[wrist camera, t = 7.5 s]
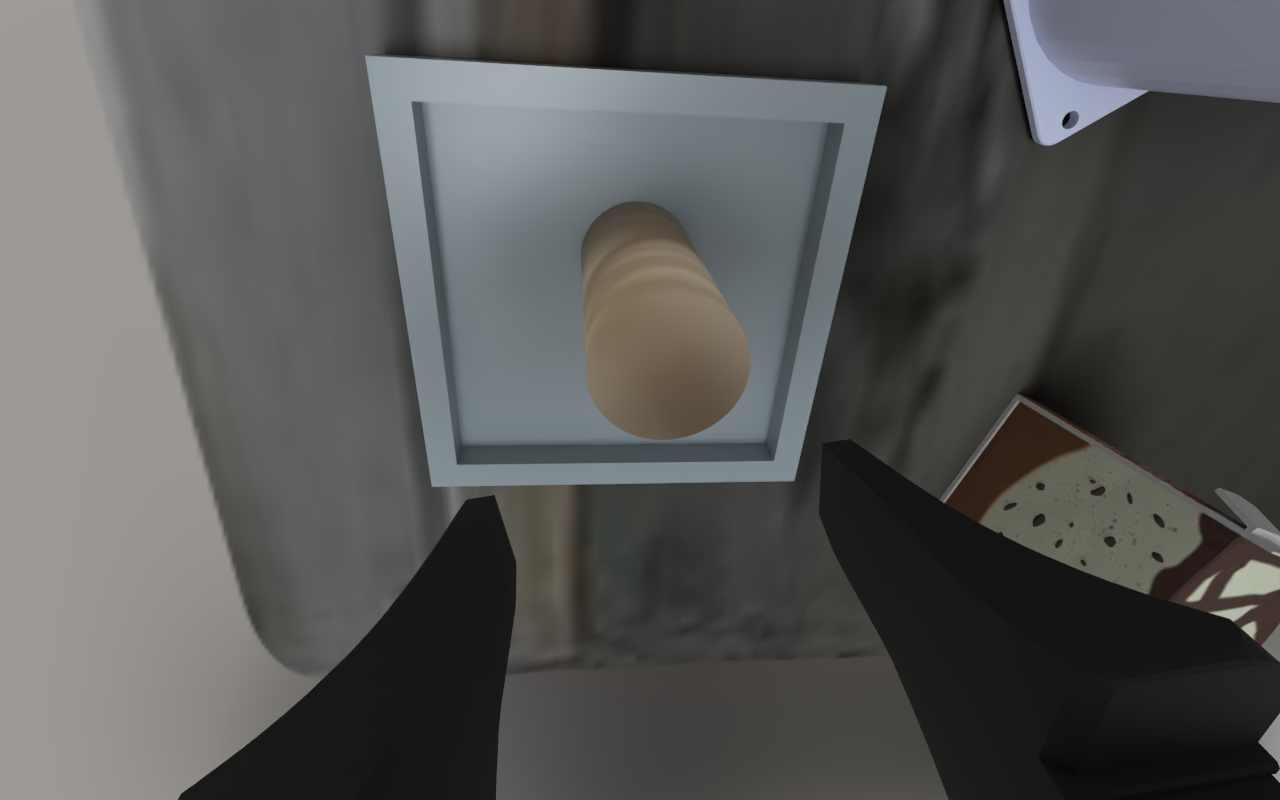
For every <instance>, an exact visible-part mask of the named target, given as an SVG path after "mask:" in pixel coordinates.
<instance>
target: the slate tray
mask: <svg viewBox="0 0 1280 800" xmlns="http://www.w3.org/2000/svg"><path fill="white" fill-rule="evenodd" d="M365 58H366V64H367V71H368V77H369V84H370V90H371V97H372V103H373V109H374V116H375V122H376V129H377V135H378V142H379V148H380V155H381V161H382V167H383V174H384V180H385V187H386V193H387V200H388V206H389V213H390V219H391V226H392V232H393V238H394V245H395V251H396V258H397V264H398V271H399V277H400V284H401V290H402V296H403V303H404V309H405V316H406V322H407V329H408V335H409V342H410V348H411V354H412V361H413V367H414V374H415V380H416V387H417V393H418V400H419V406H420V413H421V419H422V425H423V432H424V438H425V445H426V451H427V458H428V464H429V471H430V477H431V483H432V487H444V486H507V485H571V484H634V483H698V482H761V481H794V480H795V475H796V471H797V467H798V463H799V458H800V454H801V450H802V446H803V441H804V437H805V433H806V429H807V424H808V420H809V416H810V412H811V407H812V403H813V399H814V395H815V390H816V386H817V382H818V378H819V373H820V369H821V365H822V361H823V356H824V352H825V348H826V344H827V339H828V335H829V331H830V327H831V322H832V318H833V314H834V310H835V305H836V301H837V297H838V293H839V288H840V284H841V280H842V276H843V271H844V267H845V263H846V259H847V255H848V250H849V246H850V242H851V238H852V233H853V229H854V225H855V221H856V216H857V212H858V208H859V204H860V199H861V195H862V191H863V187H864V182H865V178H866V174H867V170H868V165H869V161H870V157H871V153H872V148H873V144H874V140H875V136H876V131H877V127H878V123H879V119H880V114H881V110H882V106H883V102H884V97H885V93H886V89H887V86H883V85H876V84H870V83H863V82H850V81H833V80H816V79H799V78H782V77H765V76H748V75H732V74H715V73H698V72H681V71H664V70H647V69H630V68H613V67H596V66H579V65H562V64H546V63H529V62H512V61H495V60H478V59H461V58H444V57H427V56H410V55H393V54H378V55H366V56H365ZM633 201H641V202H648V203H652V204H655V205H658V206H660V207H662V208H664V209H665V210H667V211H668V212H670V213H671V214H672V215H673V216H674V217H675V218H676V219H677V220H678V221H679V223H680V224H681V226H682V227H683V229H684V231H685V232H686V234H687V236H688V238H689V239H690V241H691V243H692V244H693V246H694V248H695V250H696V251H697V253H698V255H699V256H700V258H701V260H702V262H703V263H704V265H705V267H706V268H707V270H708V272H709V273H710V275H711V277H712V279H713V280H714V282H715V284H716V285H717V287H718V289H719V291H720V292H721V294H722V296H723V297H724V299H725V301H726V303H727V304H728V306H729V308H730V309H731V311H732V313H733V315H734V316H735V318H736V320H737V321H738V323H739V325H740V326H741V328H742V330H743V332H744V334H745V336H746V338H747V341H748V345H749V349H750V357H751V366H750V373H749V378H748V382H747V384H746V387H745V389H744V391H743V393H742V395H741V397H740V399H739V400H738V402H737V403H736V405H735V406H734V407H733V408H732V409H731V410H730V412H729V413H728V414H726V415H725V416H724V417H723V418H722V419H721V420H720V421H718V422H717V423H715V424H714V425H712V426H711V427H709V428H707V429H705V430H703V431H701V432H699V433H696V434H694V435H691V436H687V437H683V438H678V439H671V440H653V439H646V438H642V437H638V436H635V435H632V434H629V433H627V432H625V431H623V430H621V429H619V428H618V427H616V426H615V425H613V424H612V423H611V422H610V421H608V420H607V419H606V418H605V417H604V416H603V415H602V413H601V412H600V411H599V410H598V408H597V407H596V405H595V403H594V402H593V399H592V397H591V395H590V392H589V388H588V384H587V375H586V354H585V332H584V310H583V289H582V267H581V250H582V244H583V241H584V237H585V235H586V233H587V231H588V229H589V227H590V226H591V224H592V223H593V222H594V221H595V220H596V218H597V217H599V216H600V215H601V214H602V213H603V212H605V211H606V210H608V209H609V208H611V207H613V206H615V205H618V204H621V203H626V202H633Z"/></svg>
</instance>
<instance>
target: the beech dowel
mask: <svg viewBox="0 0 1280 800" xmlns="http://www.w3.org/2000/svg"><path fill="white" fill-rule="evenodd" d="M581 267H582V289H583V310H584V332H585V354H586V375H587V384H588V388H589V392H590V395H591V397H592V399H593V402H594V403H595V405H596V407H597V408H598V410H599V411H600V412H601V413H602V415H603V416H604V417H605V418H606V419H607V420H608V421H610V422H611V423H612V424H613V425H615V426H616V427H618V428H619V429H621V430H623V431H625V432H627V433H629V434H632V435H635V436H638V437H642V438H646V439H653V440H671V439H678V438H683V437H687V436H691V435H694V434H696V433H699V432H701V431H703V430H705V429H707V428H709V427H711V426H712V425H714V424H715V423H717V422H718V421H720V420H721V419H722V418H723V417H724V416H725V415H726V414H728V413H729V412H730V410H731V409H732V408H733V407H734V406H735V405H736V403H737V402H738V400H739V399H740V397H741V395H742V393H743V391H744V389H745V387H746V384H747V382H748V378H749V373H750V366H751V357H750V349H749V345H748V341H747V338H746V336H745V334H744V332H743V330H742V328H741V326H740V325H739V323H738V321H737V320H736V318H735V316H734V315H733V313H732V311H731V309H730V308H729V306H728V304H727V303H726V301H725V299H724V297H723V296H722V294H721V292H720V291H719V289H718V287H717V285H716V284H715V282H714V280H713V279H712V277H711V275H710V273H709V272H708V270H707V268H706V267H705V265H704V263H703V262H702V260H701V258H700V256H699V255H698V253H697V251H696V250H695V248H694V246H693V244H692V243H691V241H690V239H689V238H688V236H687V234H686V232H685V231H684V229H683V227H682V226H681V224H680V223H679V221H678V220H677V219H676V218H675V217H674V216H673V215H672V214H671V213H670V212H668V211H667V210H665V209H664V208H662V207H660V206H658V205H655V204H652V203H648V202H641V201H633V202H626V203H621V204H618V205H615V206H613V207H611V208H609V209H608V210H606V211H605V212H603V213H602V214H601V215H600V216H599V217H597V218H596V220H595V221H594V222H593V223H592V224H591V226H590V227H589V229H588V231H587V233H586V235H585V237H584V241H583V244H582V250H581Z"/></svg>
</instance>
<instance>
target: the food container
mask: <svg viewBox="0 0 1280 800" xmlns="http://www.w3.org/2000/svg"><path fill="white" fill-rule="evenodd" d="M1215 492H1216V493H1217V494H1218V495H1219V496H1220V498H1221V499H1222V500H1223V501H1224V502H1225V503H1226V504H1227V505H1228V506H1229V507H1230V508H1231V509H1232V510H1233V511H1234V513H1235V514H1236V515H1237V516H1238V517H1239V518H1240V519H1241V520H1242V521H1243V522H1244V523H1245V524H1246V525H1247V526H1248V527H1246V526H1244V525H1242V524H1241V523H1239V522H1237V521H1236V520H1234V519H1232V518H1231V517H1229V516H1227V515H1226V514H1224V513H1222V512H1221V511H1219V510H1217V509H1216V508H1214V507H1212V506H1211V505H1209V504H1207V503H1206V502H1204V501H1202V500H1201V499H1199V498H1197V497H1196V496H1194V495H1192V494H1191V493H1189V492H1187V491H1186V490H1184V489H1182V488H1181V487H1179V486H1177V485H1176V484H1174V483H1172V482H1171V481H1169V480H1167V479H1166V478H1164V477H1162V476H1161V475H1159V474H1157V473H1155V472H1154V471H1152V470H1150V469H1149V468H1147V467H1145V466H1144V465H1142V464H1140V463H1139V462H1137V461H1135V460H1134V459H1132V458H1130V457H1129V456H1127V455H1125V454H1124V453H1122V452H1120V451H1119V450H1117V449H1115V448H1114V447H1112V446H1110V445H1109V444H1107V443H1105V442H1104V441H1102V440H1100V439H1099V438H1097V437H1095V436H1094V435H1092V434H1090V433H1089V432H1087V431H1085V430H1084V429H1082V428H1080V427H1079V426H1077V425H1075V424H1074V423H1072V422H1070V421H1069V420H1067V419H1065V418H1064V417H1062V416H1060V415H1058V414H1057V413H1055V412H1053V411H1052V410H1050V409H1048V408H1047V407H1045V406H1043V405H1042V404H1040V403H1038V402H1037V401H1035V400H1033V399H1031V398H1029V397H1026V396H1024V395H1021V394H1018V393H1017V394H1016V395H1015V397H1014V398H1013V399H1012V401H1011V402H1010V404H1009V405H1008V406H1007V408H1006V409H1005V410H1004V412H1003V413H1002V415H1001V416H1000V417H999V419H998V420H997V421H996V423H995V424H994V426H993V427H992V428H991V430H990V431H989V432H988V434H987V435H986V436H985V438H984V439H983V441H982V442H981V443H980V445H979V446H978V447H977V449H976V450H975V452H974V453H973V454H972V456H971V457H970V458H969V460H968V461H967V463H966V464H965V465H964V467H963V468H962V469H961V471H960V472H959V474H958V475H957V476H956V478H955V479H954V480H953V482H952V483H951V484H950V486H949V487H948V489H947V490H946V491H945V493H944V494H943V495H942V497H941V498H940V501H942V502H944V503H945V504H947V505H949V506H950V507H952V508H954V509H955V510H957V511H959V512H961V513H962V514H964V515H966V516H967V517H969V518H971V519H973V520H974V521H976V522H978V523H980V524H982V525H984V526H985V527H987V528H989V529H991V530H993V531H995V532H997V533H999V534H1001V535H1003V536H1005V537H1007V538H1009V539H1011V540H1013V541H1015V542H1017V543H1019V544H1021V545H1023V546H1025V547H1027V548H1030V549H1032V550H1034V551H1036V552H1038V553H1041V554H1043V555H1045V556H1048V557H1050V558H1052V559H1055V560H1057V561H1060V562H1062V563H1064V564H1067V565H1069V566H1071V567H1074V568H1076V569H1079V570H1081V571H1084V572H1086V573H1089V574H1092V575H1094V576H1097V577H1100V578H1102V579H1105V580H1107V581H1110V582H1113V583H1116V584H1119V585H1122V586H1125V587H1128V588H1130V589H1133V590H1136V591H1139V592H1142V593H1145V594H1148V595H1151V596H1154V597H1157V598H1160V599H1164V600H1167V601H1171V602H1174V603H1177V604H1181V605H1184V606H1188V607H1191V608H1194V609H1198V610H1201V611H1205V612H1208V613H1212V614H1215V615H1218V616H1222V617H1225V618H1229V619H1231V620H1232V621H1233V622H1234V623H1235V624H1237V625H1238V626H1239V627H1240V628H1241V629H1243V630H1244V631H1245V632H1246V633H1247V634H1248V635H1249V636H1250V637H1252V638H1253V639H1254V640H1255V641H1256V642H1257V643H1258V644H1260V645H1261V646H1262V647H1263V648H1264V649H1265V650H1266V651H1268V652H1269V653H1270V654H1271V655H1272V656H1273V657H1274V658H1276V659H1277V660H1278V661H1279V662H1280V532H1279V531H1278V530H1277V529H1276V528H1275V527H1274V526H1273V525H1272V524H1271V522H1270V521H1269V520H1268V519H1267V518H1266V517H1265V516H1264V515H1263V514H1262V513H1261V512H1260V511H1259V510H1258V509H1257V508H1256V507H1255V506H1253V505H1252V504H1250V503H1249V502H1248V501H1246V500H1245V499H1243V498H1242V497H1240V496H1239V495H1237V494H1234V493H1232V492H1229V491H1227V490H1224V489H1221V488H1218V489H1216V490H1215Z"/></svg>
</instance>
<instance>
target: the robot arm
mask: <svg viewBox="0 0 1280 800" xmlns="http://www.w3.org/2000/svg"><path fill="white" fill-rule="evenodd" d="M1003 1H1004V6H1005V11H1006V15H1007V20H1008V25H1009V29H1010V34H1011V39H1012V44H1013V48H1014V53H1015V58H1016V63H1017V67H1018V72H1019V77H1020V82H1021V86H1022V91H1023V96H1024V100H1025V105H1026V110H1027V115H1028V119H1029V124H1030V129H1031V134H1032V137H1033V139H1034V141H1035V142H1036V143H1038V144H1041V145H1047V146H1051V145H1054V144H1056V143H1058V142H1060V141H1062V140H1063V139H1065V138H1067V137H1069V136H1070V135H1072V134H1074V133H1076V132H1077V131H1079V130H1081V129H1083V128H1084V127H1086V126H1088V125H1090V124H1091V123H1093V122H1095V121H1097V120H1098V119H1100V118H1102V117H1104V116H1105V115H1107V114H1109V113H1111V112H1113V111H1114V110H1116V109H1118V108H1120V107H1121V106H1123V105H1125V104H1127V103H1128V102H1130V101H1132V100H1134V99H1135V98H1137V97H1139V96H1141V95H1142V94H1144V93H1146V92H1148V91H1158V92H1169V93H1180V94H1190V95H1201V96H1212V97H1223V98H1234V99H1245V100H1255V101H1266V102H1277V103H1280V0H1003ZM1067 113H1070V119H1069V121H1068V122H1067V124H1065V125H1064V126H1062V120H1063V118H1064V117H1065V115H1066V114H1067ZM819 515H820V518H821V520H822V523H823V526H824V528H825V531H826V534H827V536H828V539H829V541H830V544H831V546H832V549H833V551H834V554H835V556H836V557H837V559H838V561H839V563H840V565H841V567H842V569H843V571H844V572H845V574H846V576H847V578H848V580H849V582H850V583H851V585H852V587H853V589H854V591H855V592H856V594H857V596H858V598H859V600H860V601H861V603H862V605H863V607H864V609H865V610H866V612H867V614H868V616H869V618H870V619H871V621H872V623H873V625H874V627H875V628H876V630H877V632H878V634H879V636H880V638H881V639H882V641H883V643H884V645H885V647H886V649H887V651H888V653H889V655H890V657H891V659H892V661H893V663H894V665H895V668H896V670H897V672H898V674H899V677H900V679H901V682H902V684H903V686H904V689H905V691H906V693H907V696H908V698H909V700H910V703H911V705H912V708H913V710H914V712H915V715H916V717H917V720H918V722H919V725H920V727H921V730H922V732H923V735H924V737H925V740H926V742H927V744H928V747H929V749H930V752H931V754H932V757H933V759H934V762H935V765H936V767H937V770H938V773H939V775H940V778H941V781H942V783H943V786H944V788H945V791H946V794H947V796H948V799H949V800H1280V783H1279V782H1278V781H1277V780H1276V779H1275V777H1274V776H1272V774H1276V773H1277V772H1278V771H1279V769H1280V768H1279V765H1278V762H1277V761H1276V760H1275V759H1274V758H1273V757H1272V756H1271V755H1270V754H1269V753H1268V752H1267V751H1266V750H1265V749H1264V748H1263V747H1262V746H1261V745H1260V744H1259V743H1258V741H1259V740H1260V739H1261V737H1262V736H1263V735H1264V733H1265V732H1266V731H1267V729H1268V728H1269V727H1270V725H1271V724H1272V723H1273V721H1274V720H1275V719H1276V717H1277V716H1278V715H1279V713H1280V662H1279V661H1278V660H1277V659H1276V658H1274V657H1273V656H1272V655H1271V654H1270V653H1269V652H1268V651H1266V650H1265V649H1264V648H1263V647H1262V646H1261V645H1260V644H1258V643H1257V642H1256V641H1255V640H1254V639H1253V638H1252V637H1250V636H1249V635H1248V634H1247V633H1246V632H1245V631H1244V630H1243V629H1241V628H1240V627H1239V626H1238V625H1237V624H1235V623H1234V622H1233V621H1232V620H1231V619H1229V618H1225V617H1222V616H1218V615H1215V614H1212V613H1208V612H1205V611H1201V610H1198V609H1194V608H1191V607H1188V606H1184V605H1181V604H1177V603H1174V602H1171V601H1167V600H1164V599H1160V598H1157V597H1154V596H1151V595H1148V594H1145V593H1142V592H1139V591H1136V590H1133V589H1130V588H1128V587H1125V586H1122V585H1119V584H1116V583H1113V582H1110V581H1107V580H1105V579H1102V578H1100V577H1097V576H1094V575H1092V574H1089V573H1086V572H1084V571H1081V570H1079V569H1076V568H1074V567H1071V566H1069V565H1067V564H1064V563H1062V562H1060V561H1057V560H1055V559H1052V558H1050V557H1048V556H1045V555H1043V554H1041V553H1038V552H1036V551H1034V550H1032V549H1030V548H1027V547H1025V546H1023V545H1021V544H1019V543H1017V542H1015V541H1013V540H1011V539H1009V538H1007V537H1005V536H1003V535H1001V534H999V533H997V532H995V531H993V530H991V529H989V528H987V527H985V526H984V525H982V524H980V523H978V522H976V521H974V520H973V519H971V518H969V517H967V516H966V515H964V514H962V513H961V512H959V511H957V510H955V509H954V508H952V507H950V506H949V505H947V504H945V503H944V502H942V501H940V500H939V499H937V498H936V497H934V496H932V495H931V494H929V493H928V492H926V491H925V490H923V489H921V488H920V487H918V486H917V485H915V484H914V483H912V482H911V481H909V480H908V479H906V478H905V477H903V476H902V475H901V474H899V473H898V472H896V471H895V470H893V469H892V468H890V467H889V466H888V465H886V464H885V463H883V462H882V461H880V460H879V459H878V458H876V457H875V456H873V455H872V454H871V453H869V452H868V451H866V450H865V449H863V448H862V447H861V446H859V445H858V444H856V443H855V442H853V441H852V440H850V439H848V440H841V441H835V442H829V443H822V460H821V482H820V505H819ZM515 605H516V560H515V557H514V554H513V551H512V548H511V545H510V542H509V539H508V535H507V532H506V529H505V526H504V523H503V520H502V517H501V514H500V511H499V508H498V505H497V501H496V498H495V495H493V496H487V497H481V498H474V499H468V500H466V501H465V502H464V504H463V505H462V507H461V508H460V510H459V511H458V513H457V514H456V516H455V517H454V519H453V520H452V522H451V523H450V525H449V526H448V528H447V529H446V531H445V532H444V534H443V535H442V537H441V538H440V540H439V541H438V543H437V544H436V546H435V547H434V549H433V550H432V552H431V553H430V554H429V556H428V557H427V559H426V560H425V562H424V563H423V564H422V566H421V567H420V569H419V570H418V572H417V573H416V574H415V576H414V577H413V578H412V580H411V581H410V582H409V584H408V585H407V586H406V588H405V589H404V590H403V591H402V593H401V594H400V595H399V597H398V598H397V599H396V600H395V602H394V603H393V604H392V606H391V607H390V608H389V609H388V611H387V612H386V613H385V614H384V615H383V617H382V618H381V619H380V620H379V621H378V623H377V624H376V625H375V626H374V627H373V628H372V629H371V631H370V632H369V633H368V634H367V635H366V636H365V637H364V638H363V639H362V640H361V641H360V643H359V644H358V645H357V646H356V647H355V648H354V649H353V650H352V651H351V652H350V653H349V654H348V655H347V656H346V657H345V658H344V659H343V660H342V661H341V662H340V663H339V664H338V665H337V666H336V667H335V668H334V669H333V670H332V671H331V672H330V673H329V674H328V675H327V676H326V677H325V678H323V679H322V680H321V681H320V682H319V683H318V684H317V685H316V686H315V687H314V688H313V689H312V690H311V691H310V692H309V693H308V694H307V695H306V696H305V697H303V698H302V699H301V700H300V701H299V702H298V703H297V704H296V705H294V706H293V707H292V708H291V709H290V710H289V711H287V712H286V713H285V714H284V715H283V716H282V717H280V718H279V719H278V720H277V721H276V722H274V723H273V724H272V725H271V726H270V727H268V728H267V729H266V730H265V731H264V732H262V733H261V734H260V735H259V736H258V737H257V738H255V739H254V740H252V741H251V742H250V743H249V744H247V745H246V746H245V747H244V748H243V749H241V750H240V751H239V752H237V753H236V754H235V755H233V756H232V757H230V758H229V759H228V760H227V761H225V762H224V763H223V764H221V765H220V766H218V767H217V768H216V769H214V770H213V771H212V772H210V773H209V774H208V775H206V776H205V777H204V778H202V779H201V780H200V781H198V782H197V783H196V784H194V785H193V786H191V787H190V788H189V789H187V790H186V791H184V792H183V793H182V794H181V795H180V797H179V799H178V800H496V774H497V754H498V733H499V732H498V731H499V721H500V720H499V719H500V711H501V702H502V696H503V688H504V682H505V676H506V669H507V662H508V655H509V649H510V642H511V635H512V628H513V621H514V613H515Z"/></svg>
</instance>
